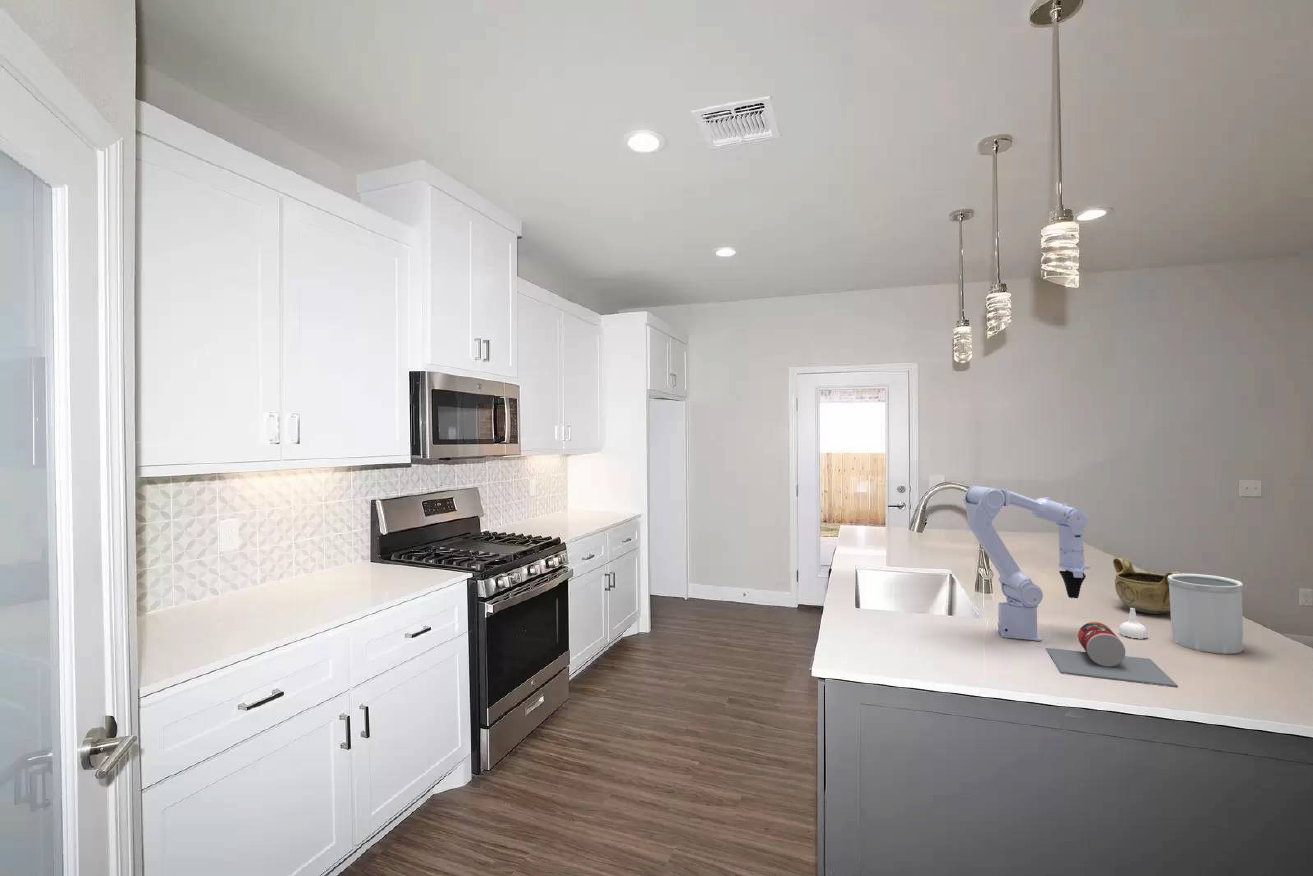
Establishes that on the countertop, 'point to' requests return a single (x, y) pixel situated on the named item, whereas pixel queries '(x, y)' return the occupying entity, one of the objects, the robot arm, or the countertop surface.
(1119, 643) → the canned food
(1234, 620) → the utensil holder
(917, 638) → the countertop surface
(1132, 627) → the garlic bulb
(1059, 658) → the slate mat
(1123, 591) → the ceramic bowl
